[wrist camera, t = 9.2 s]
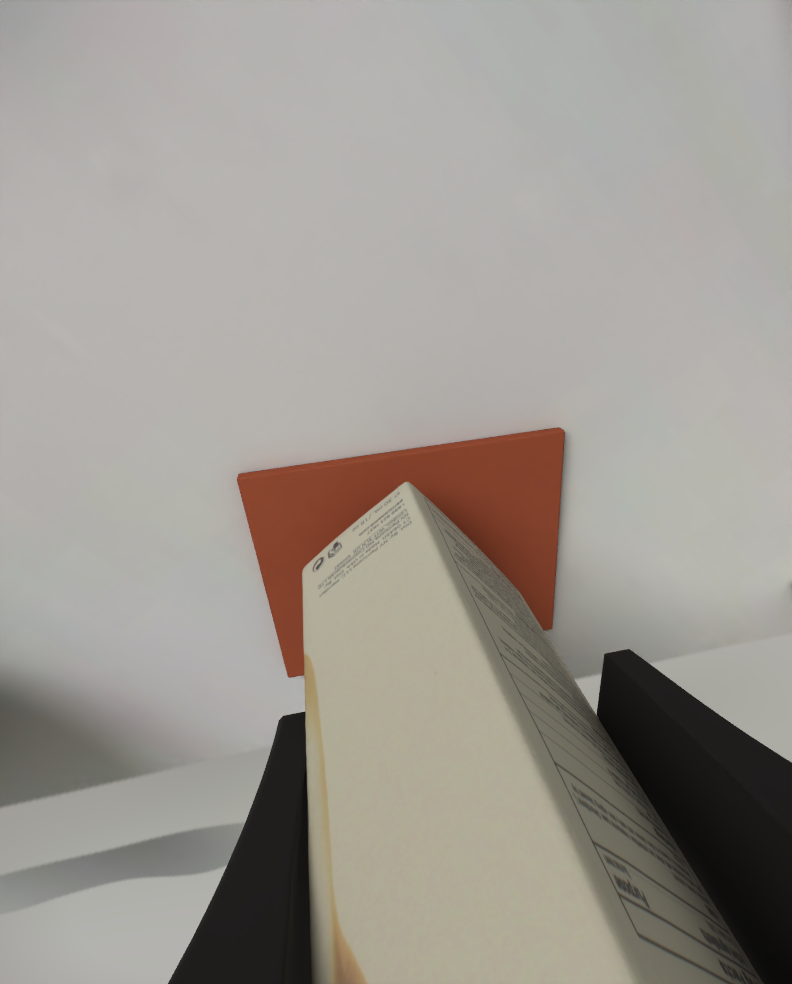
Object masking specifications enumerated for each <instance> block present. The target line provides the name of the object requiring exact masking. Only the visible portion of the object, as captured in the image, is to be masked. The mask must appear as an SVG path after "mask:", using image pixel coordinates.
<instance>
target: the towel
mask: <svg viewBox="0 0 792 984" xmlns="http://www.w3.org/2000/svg"><path fill="white" fill-rule="evenodd" d="M564 435H565V432H564V430H562V429H561V428H552V429H545V430H538V431H531V432H524V433H517V434H511V435H504V436H497V437H490V438H483V439H476V440H469V441H462V442H455V443H448V444H442V445H435V446H428V447H421V448H414V449H407V450H400V451H393V452H386V453H379V454H372V455H366V456H359V457H352V458H345V459H338V460H331V461H324V462H317V463H310V464H303V465H297V466H290V467H283V468H276V469H269V470H262V471H255V472H248V473H241V474H239V475H238V478H237V481H238V485H239V489H240V493H241V497H242V501H243V505H244V508H245V512H246V516H247V520H248V524H249V528H250V532H251V535H252V539H253V543H254V547H255V551H256V555H257V559H258V562H259V566H260V570H261V574H262V578H263V582H264V586H265V590H266V593H267V597H268V601H269V605H270V609H271V613H272V617H273V620H274V624H275V628H276V632H277V636H278V640H279V644H280V647H281V651H282V655H283V659H284V663H285V667H286V671H287V675H288V677H289V678H290V677H296V676H301V675H304V641H303V585H302V571H303V569H304V567H305V566H306V565H307V564H308V563H309V562H310V561H311V560H313V559H314V558H315V557H316V556H317V555H318V554H319V553H320V552H321V551H322V550H323V549H325V548H326V547H327V546H328V545H329V544H330V543H331V542H332V541H333V540H335V539H336V538H337V537H338V536H339V535H340V534H342V533H343V532H344V531H345V530H346V529H347V528H349V527H350V526H351V525H352V524H353V523H355V522H356V521H357V520H358V519H359V518H361V517H362V516H363V515H364V514H366V513H367V512H368V511H369V510H370V509H372V508H373V507H374V506H375V505H377V504H378V503H379V502H380V501H382V500H383V499H384V498H385V497H387V496H388V495H389V494H391V493H392V492H393V491H394V490H395V489H397V488H398V487H399V486H400V485H402V484H403V483H405V482H410V483H411V484H412V485H414V486H415V487H416V488H417V489H418V490H419V491H420V492H421V493H422V494H423V495H424V496H425V497H426V498H427V499H429V500H430V501H431V502H432V503H433V504H434V505H435V506H436V507H437V508H438V509H439V510H440V511H441V512H442V513H443V514H444V515H446V516H447V517H448V518H449V519H450V520H451V521H452V522H453V523H454V524H455V525H456V526H457V527H458V528H459V529H460V530H461V531H462V532H463V533H464V534H465V535H466V536H467V537H468V538H469V539H470V540H471V541H472V542H473V543H474V544H475V545H476V546H477V547H478V548H479V549H480V550H481V551H482V552H483V553H484V554H485V555H486V556H487V557H488V558H489V559H490V560H491V562H492V563H493V564H494V565H495V566H496V567H497V568H498V569H499V570H500V571H501V572H502V573H503V574H504V575H505V576H506V577H507V579H508V580H509V581H510V582H511V583H512V584H513V585H514V586H515V588H516V589H517V590H518V591H519V592H520V593H521V595H522V597H523V598H524V600H525V602H526V603H527V605H528V606H529V608H530V610H531V611H532V613H533V614H534V616H535V618H536V619H537V621H538V622H539V624H540V626H541V627H542V629H543V631H544V630H549V629H552V624H553V608H554V593H555V577H556V561H557V545H558V529H559V514H560V498H561V482H562V466H563V451H564Z"/></svg>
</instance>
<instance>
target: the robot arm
mask: <svg viewBox="0 0 792 984" xmlns="http://www.w3.org/2000/svg"><path fill="white" fill-rule="evenodd" d="M597 717H598V719H599V720H600V722H601V724H602V725H603V727H604V728H605V730H606V732H607V733H608V735H609V737H610V738H611V740H612V741H613V743H614V745H615V746H616V748H617V749H618V751H619V753H620V754H621V756H622V757H623V759H624V761H625V762H626V764H627V765H628V767H629V769H630V770H631V772H632V773H633V775H634V777H635V778H636V780H637V781H638V783H639V785H640V786H641V788H642V789H643V791H644V793H645V794H646V796H647V797H648V799H649V801H650V802H651V804H652V806H653V807H654V809H655V810H656V812H657V814H658V815H659V817H660V818H661V820H662V822H663V823H664V825H665V826H666V828H667V830H668V831H669V833H670V834H671V836H672V838H673V839H674V841H675V842H676V844H677V846H678V847H679V849H680V850H681V852H682V854H683V855H684V857H685V858H686V860H687V862H688V863H689V865H690V866H691V868H692V870H693V871H694V873H695V874H696V876H697V878H698V879H699V881H700V882H701V884H702V886H703V887H704V889H705V890H706V892H707V894H708V895H709V897H710V898H711V900H712V902H713V903H714V905H715V906H716V908H717V910H718V911H719V913H720V914H721V916H722V918H723V919H724V921H725V922H726V924H727V926H728V927H729V929H730V931H731V932H732V934H733V935H734V937H735V939H736V940H737V942H738V943H739V945H740V947H741V948H742V950H743V951H744V953H745V955H746V956H747V958H748V959H749V961H750V963H751V964H752V966H753V967H754V969H755V971H756V972H757V974H758V975H759V977H760V979H761V980H762V982H763V983H764V984H792V763H791V762H789V761H788V760H786V759H785V758H783V757H781V756H780V755H778V754H777V753H775V752H774V751H772V750H771V749H769V748H768V747H766V746H765V745H763V744H762V743H760V742H758V741H757V740H755V739H754V738H752V737H751V736H749V735H748V734H746V733H745V732H743V731H742V730H740V729H739V728H737V727H736V726H734V725H733V724H731V723H730V722H729V721H727V720H726V719H724V718H723V717H721V716H720V715H719V714H717V713H716V712H714V711H713V710H711V709H710V708H709V707H707V706H706V705H704V704H703V703H702V702H700V701H699V700H697V699H696V698H695V697H693V696H692V695H691V694H689V693H688V692H686V691H685V690H684V689H682V688H681V687H679V686H678V685H677V684H676V683H674V682H673V681H672V680H670V679H669V678H667V677H666V676H665V675H663V674H662V673H661V672H659V671H658V670H657V669H655V668H654V667H653V666H651V665H650V664H649V663H647V662H646V661H645V660H643V659H642V658H641V657H639V656H638V655H637V654H635V653H634V652H633V651H631V650H630V649H627V650H622V651H617V652H611V653H606V654H604V662H603V669H602V677H601V685H600V693H599V701H598V708H597ZM305 719H306V714H305V712H301V713H296V714H291V715H286V716H283V717H282V718H281V719H280V720H279V722H278V727H277V731H276V735H275V738H274V742H273V745H272V749H271V752H270V756H269V759H268V762H267V765H266V768H265V771H264V774H263V777H262V780H261V783H260V785H259V788H258V791H257V793H256V796H255V799H254V801H253V804H252V807H251V809H250V812H249V815H248V817H247V820H246V822H245V825H244V827H243V830H242V832H241V835H240V837H239V839H238V842H237V844H236V846H235V849H234V851H233V853H232V856H231V858H230V860H229V863H228V865H227V867H226V870H225V872H224V874H223V876H222V878H221V881H220V883H219V885H218V887H217V889H216V891H215V894H214V896H213V898H212V900H211V902H210V904H209V906H208V908H207V910H206V912H205V914H204V916H203V918H202V920H201V922H200V924H199V926H198V928H197V930H196V932H195V934H194V936H193V938H192V940H191V942H190V944H189V946H188V947H187V949H186V951H185V953H184V955H183V957H182V959H181V960H180V962H179V964H178V966H177V968H176V970H175V972H174V974H173V975H172V977H171V979H170V981H169V983H168V984H312V974H311V942H310V898H309V864H308V800H307V772H306V761H307V756H306V727H305Z"/></svg>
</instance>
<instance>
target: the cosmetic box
mask: <svg viewBox="0 0 792 984" xmlns="http://www.w3.org/2000/svg"><path fill="white" fill-rule="evenodd" d="M302 585H303V641H304V676H305V714H306V719H305V727H306V756H307V761H306V772H307V800H308V864H309V898H310V942H311V974H312V984H764V983H763V982H762V980H761V979H760V977H759V975H758V974H757V972H756V971H755V969H754V967H753V966H752V964H751V963H750V961H749V959H748V958H747V956H746V955H745V953H744V951H743V950H742V948H741V947H740V945H739V943H738V942H737V940H736V939H735V937H734V935H733V934H732V932H731V931H730V929H729V927H728V926H727V924H726V922H725V921H724V919H723V918H722V916H721V914H720V913H719V911H718V910H717V908H716V906H715V905H714V903H713V902H712V900H711V898H710V897H709V895H708V894H707V892H706V890H705V889H704V887H703V886H702V884H701V882H700V881H699V879H698V878H697V876H696V874H695V873H694V871H693V870H692V868H691V866H690V865H689V863H688V862H687V860H686V858H685V857H684V855H683V854H682V852H681V850H680V849H679V847H678V846H677V844H676V842H675V841H674V839H673V838H672V836H671V834H670V833H669V831H668V830H667V828H666V826H665V825H664V823H663V822H662V820H661V818H660V817H659V815H658V814H657V812H656V810H655V809H654V807H653V806H652V804H651V802H650V801H649V799H648V797H647V796H646V794H645V793H644V791H643V789H642V788H641V786H640V785H639V783H638V781H637V780H636V778H635V777H634V775H633V773H632V772H631V770H630V769H629V767H628V765H627V764H626V762H625V761H624V759H623V757H622V756H621V754H620V753H619V751H618V749H617V748H616V746H615V745H614V743H613V741H612V740H611V738H610V737H609V735H608V733H607V732H606V730H605V728H604V727H603V725H602V724H601V722H600V720H599V719H598V717H597V716H596V714H595V712H594V711H593V709H592V708H591V706H590V705H589V703H588V701H587V700H586V698H585V696H584V695H583V694H582V692H581V690H580V688H579V687H578V685H577V684H576V682H575V680H574V679H573V677H572V676H571V674H570V672H569V671H568V669H567V667H566V666H565V664H564V663H563V661H562V659H561V658H560V656H559V655H558V653H557V651H556V650H555V648H554V647H553V645H552V643H551V642H550V640H549V639H548V637H547V635H546V634H545V632H544V631H543V629H542V627H541V626H540V624H539V622H538V621H537V619H536V618H535V616H534V614H533V613H532V611H531V610H530V608H529V606H528V605H527V603H526V602H525V600H524V598H523V597H522V595H521V593H520V592H519V591H518V590H517V589H516V588H515V586H514V585H513V584H512V583H511V582H510V581H509V580H508V579H507V577H506V576H505V575H504V574H503V573H502V572H501V571H500V570H499V569H498V568H497V567H496V566H495V565H494V564H493V563H492V562H491V560H490V559H489V558H488V557H487V556H486V555H485V554H484V553H483V552H482V551H481V550H480V549H479V548H478V547H477V546H476V545H475V544H474V543H473V542H472V541H471V540H470V539H469V538H468V537H467V536H466V535H465V534H464V533H463V532H462V531H461V530H460V529H459V528H458V527H457V526H456V525H455V524H454V523H453V522H452V521H451V520H450V519H449V518H448V517H447V516H446V515H444V514H443V513H442V512H441V511H440V510H439V509H438V508H437V507H436V506H435V505H434V504H433V503H432V502H431V501H430V500H429V499H427V498H426V497H425V496H424V495H423V494H422V493H421V492H420V491H419V490H418V489H417V488H416V487H415V486H414V485H412V484H411V483H410V482H405V483H403V484H402V485H400V486H399V487H398V488H397V489H395V490H394V491H393V492H392V493H391V494H389V495H388V496H387V497H385V498H384V499H383V500H382V501H380V502H379V503H378V504H377V505H375V506H374V507H373V508H372V509H370V510H369V511H368V512H367V513H366V514H364V515H363V516H362V517H361V518H359V519H358V520H357V521H356V522H355V523H353V524H352V525H351V526H350V527H349V528H347V529H346V530H345V531H344V532H343V533H342V534H340V535H339V536H338V537H337V538H336V539H335V540H333V541H332V542H331V543H330V544H329V545H328V546H327V547H326V548H325V549H323V550H322V551H321V552H320V553H319V554H318V555H317V556H316V557H315V558H314V559H313V560H311V561H310V562H309V563H308V564H307V565H306V566H305V567H304V569H303V571H302Z"/></svg>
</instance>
